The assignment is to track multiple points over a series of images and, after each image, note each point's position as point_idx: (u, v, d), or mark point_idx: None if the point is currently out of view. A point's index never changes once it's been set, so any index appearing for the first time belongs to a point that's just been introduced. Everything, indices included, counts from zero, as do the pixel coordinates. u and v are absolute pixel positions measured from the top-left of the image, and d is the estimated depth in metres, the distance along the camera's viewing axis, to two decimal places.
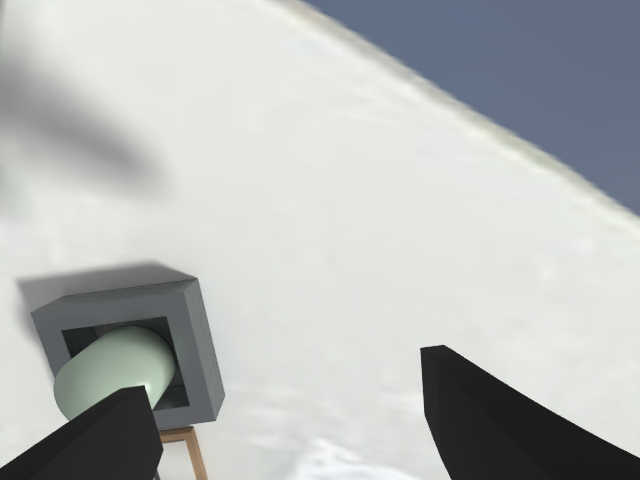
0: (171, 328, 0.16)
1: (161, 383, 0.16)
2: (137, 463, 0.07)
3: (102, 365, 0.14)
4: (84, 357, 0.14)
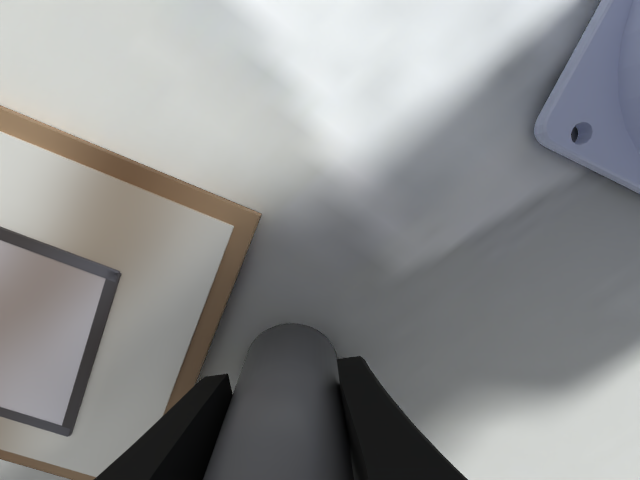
0: None
1: None
2: None
3: None
4: None
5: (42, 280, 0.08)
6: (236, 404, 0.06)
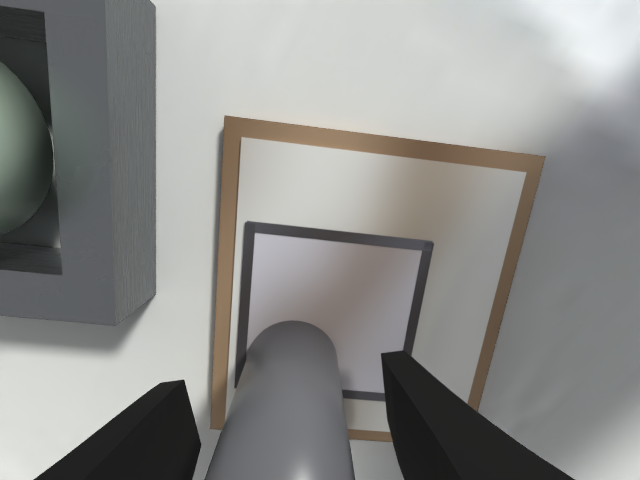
0: None
1: None
2: (180, 457, 0.07)
3: None
4: None
5: (369, 267, 0.09)
6: (240, 395, 0.07)
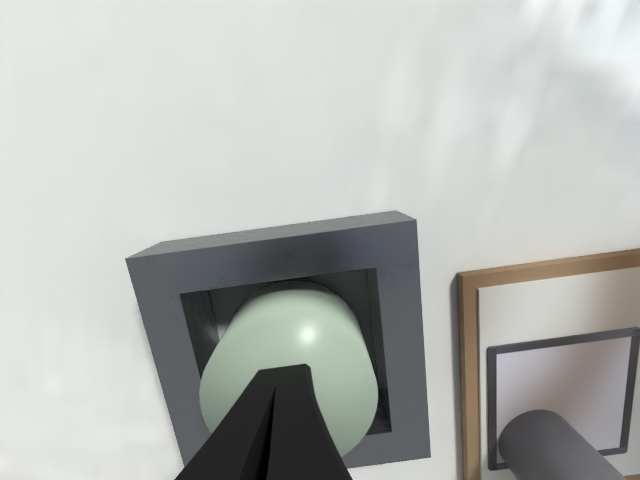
0: (204, 286, 0.08)
1: (295, 301, 0.08)
2: None
3: (224, 394, 0.08)
4: (210, 419, 0.08)
5: (589, 358, 0.11)
6: None
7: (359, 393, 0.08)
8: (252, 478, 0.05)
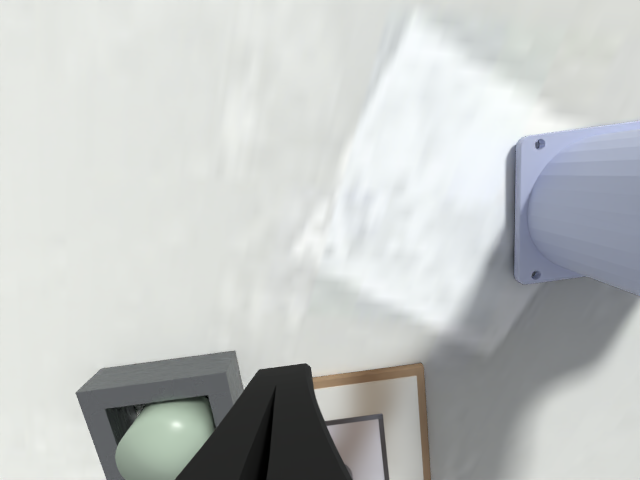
0: (117, 405, 0.16)
1: (167, 409, 0.16)
2: None
3: (127, 458, 0.16)
4: (121, 470, 0.16)
5: (355, 431, 0.19)
6: None
7: None
8: (252, 478, 0.05)
